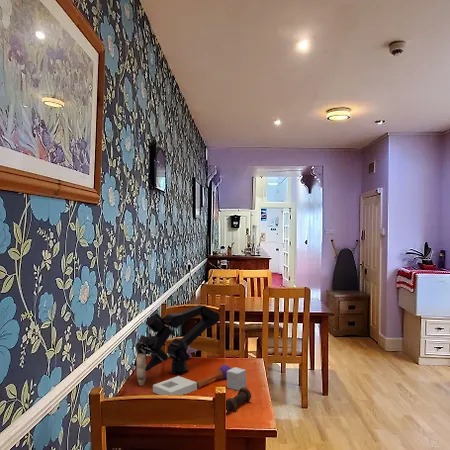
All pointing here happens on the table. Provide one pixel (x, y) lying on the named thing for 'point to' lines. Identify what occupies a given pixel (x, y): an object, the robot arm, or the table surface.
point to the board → (175, 386)
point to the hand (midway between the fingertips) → (140, 368)
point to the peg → (141, 368)
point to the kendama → (219, 375)
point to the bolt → (238, 399)
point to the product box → (236, 378)
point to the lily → (190, 351)
